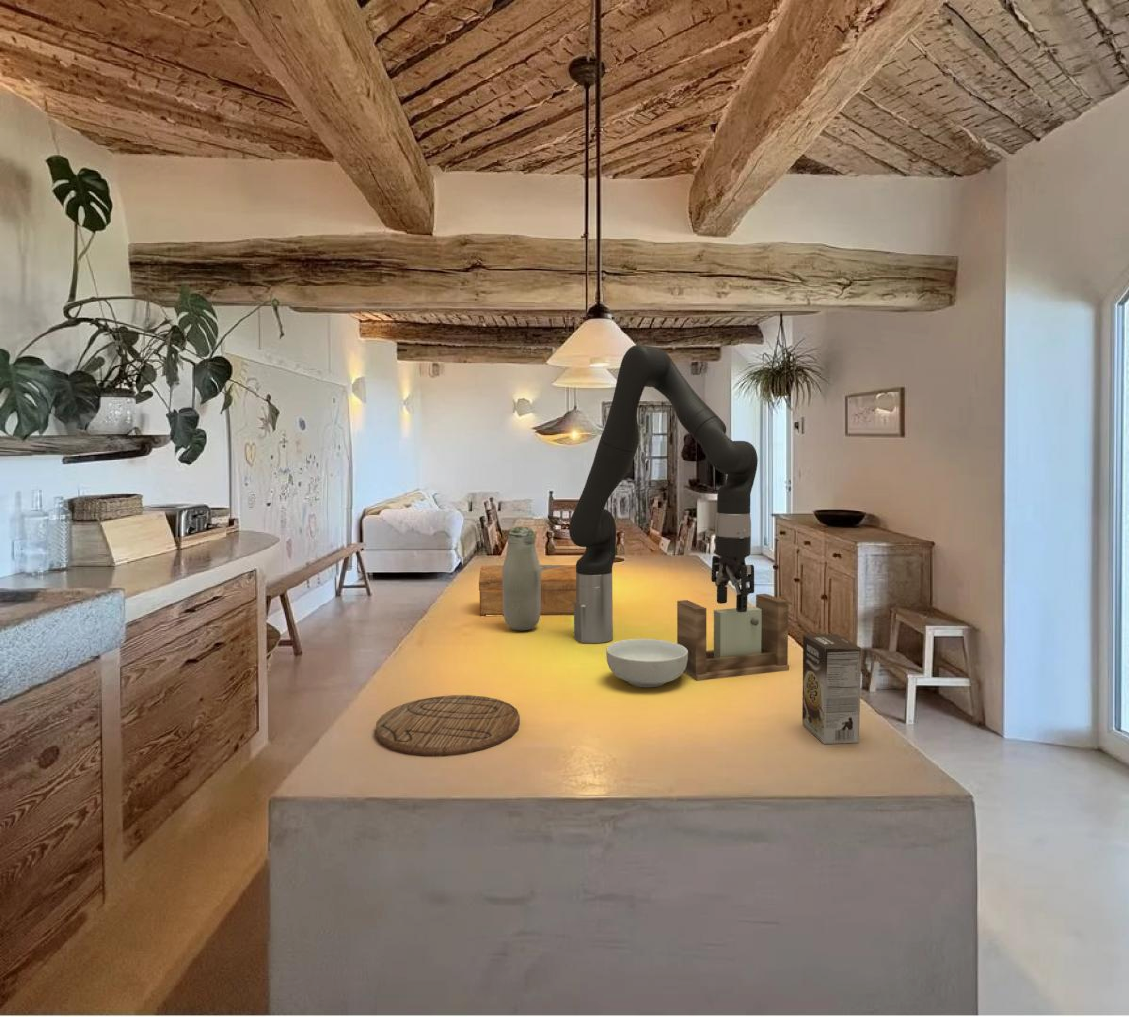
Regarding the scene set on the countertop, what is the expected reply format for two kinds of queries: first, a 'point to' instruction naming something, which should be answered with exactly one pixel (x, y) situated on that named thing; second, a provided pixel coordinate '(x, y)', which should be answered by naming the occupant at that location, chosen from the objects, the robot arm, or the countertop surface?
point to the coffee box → (831, 688)
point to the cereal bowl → (646, 661)
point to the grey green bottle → (521, 580)
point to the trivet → (447, 725)
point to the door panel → (737, 632)
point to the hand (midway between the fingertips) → (731, 607)
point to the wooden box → (554, 590)
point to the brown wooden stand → (768, 660)
